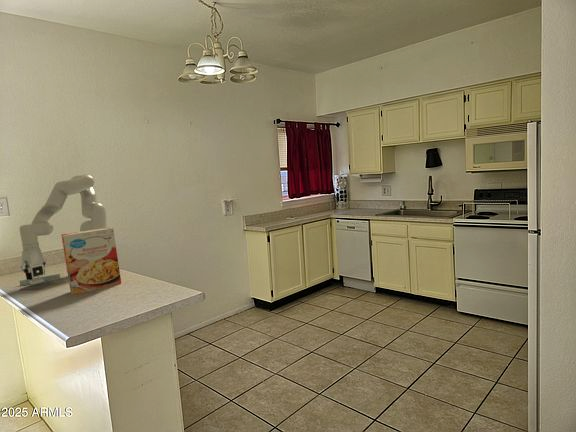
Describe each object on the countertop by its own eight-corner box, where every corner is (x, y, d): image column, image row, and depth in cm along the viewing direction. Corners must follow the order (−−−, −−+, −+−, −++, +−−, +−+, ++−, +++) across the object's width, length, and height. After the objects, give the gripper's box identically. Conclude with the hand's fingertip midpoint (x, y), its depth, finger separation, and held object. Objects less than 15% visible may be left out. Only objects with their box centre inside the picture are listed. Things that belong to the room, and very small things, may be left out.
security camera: (33, 284, 212) (30, 267, 210) (28, 283, 216) (25, 266, 215) (46, 281, 217) (43, 264, 215) (41, 280, 221) (38, 263, 220)
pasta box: (73, 295, 192) (63, 235, 188) (70, 291, 198) (61, 234, 195) (121, 283, 205) (113, 228, 202) (117, 281, 212) (109, 227, 208)
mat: (55, 282, 221) (54, 281, 221) (38, 289, 210) (38, 288, 209) (36, 283, 223) (36, 282, 223) (19, 290, 211) (19, 289, 211)
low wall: (60, 278, 230) (59, 273, 230) (60, 279, 229) (59, 274, 229) (20, 285, 222) (19, 280, 222) (20, 285, 221) (19, 280, 221)
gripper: (37, 244, 223) (42, 273, 225) (11, 250, 206) (17, 282, 208) (48, 243, 222) (53, 272, 224) (24, 249, 205) (29, 281, 207)
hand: (36, 277), depth 216 cm, fingers closed on security camera, 8 cm apart
